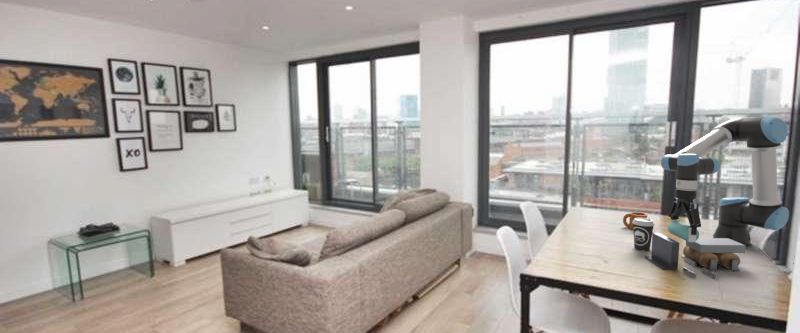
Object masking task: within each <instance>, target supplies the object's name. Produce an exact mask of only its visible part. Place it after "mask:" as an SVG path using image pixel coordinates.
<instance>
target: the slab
mask: <svg viewBox="0 0 800 333" xmlns="http://www.w3.org/2000/svg"><path fill="white" fill-rule="evenodd" d="M685 246H688V247H690V248H692V249H694V250H696V251H698V252H700V253H733V254H745V253H746V246H747V245H743V244H741V243H739V242H736V241H734V240H731V239H729V238H713V237H699V238H698V239H697V240H696V242H688V241H685Z"/></svg>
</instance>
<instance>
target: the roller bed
mask: <svg viewBox="0 0 800 333" xmlns="http://www.w3.org/2000/svg"><path fill="white" fill-rule="evenodd" d="M681 258H683V259H684V262H685V263H687V264H690V265H691V266H692V267H698V266H697V265H698V263H697V262H696V261H694V260H692V259H690V258H688V257H686V256H685V255H681ZM738 263H739V260H738V259H730V269H728V268H718V267H717V266H718V265H717V259H709V269H708V268H705V267H704V266H702V270H701V271H702V273H703V274H705V275H707V276H709V277H710V278H712V279H717V273H716V272H741V269H739V265H738ZM682 272H683V273H685V274H686V275H687V276H689V277H691V278H692V279H697V273H696V272H695V271H692V270H691V269H689V268H687V267H685V266H683V267H682Z"/></svg>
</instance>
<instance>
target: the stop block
mask: <svg viewBox="0 0 800 333" xmlns="http://www.w3.org/2000/svg"><path fill="white" fill-rule="evenodd" d="M679 255H680V242H679V241H676V240H674V239H673V238H671V237H669V236H667V235H665V234H663V233H660V232H652V239H651V255H644V257H643V258H644V259H646V260H647V261H649V262H650V263H652V264H653V265H655V266H656V267H658V268H659V269H661V270H662V271H665V270H666V271H678V268H679V258H680V257H679Z"/></svg>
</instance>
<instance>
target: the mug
mask: <svg viewBox="0 0 800 333" xmlns="http://www.w3.org/2000/svg"><path fill="white" fill-rule="evenodd" d="M628 218H629V223H628V222H627V219H628ZM634 218H648V213H645V212H639V211H631V212H629V213H626V214H625V215H624V216H623V218H622V222H623V225H624V226H625V227H626V228H629V229H630V230H633V231H634V228H633V223H632V222H633V220H634Z"/></svg>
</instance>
